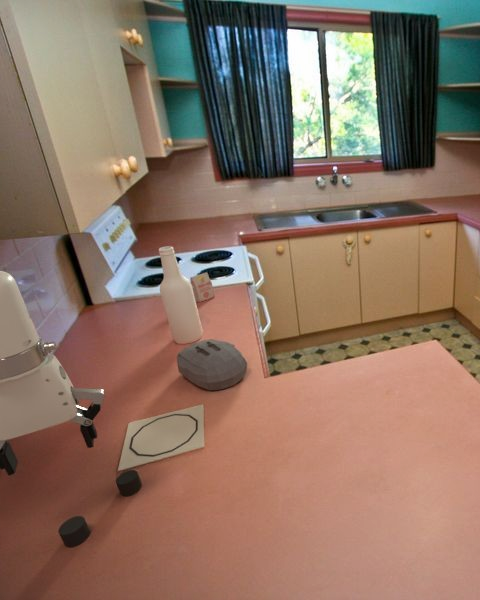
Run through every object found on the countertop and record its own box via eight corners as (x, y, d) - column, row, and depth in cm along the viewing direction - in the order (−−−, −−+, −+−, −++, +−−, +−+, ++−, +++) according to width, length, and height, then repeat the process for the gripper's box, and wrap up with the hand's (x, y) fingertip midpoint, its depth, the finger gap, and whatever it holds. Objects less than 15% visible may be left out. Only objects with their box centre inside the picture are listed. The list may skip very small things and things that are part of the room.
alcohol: (167, 342, 134) (141, 251, 122) (188, 330, 141) (165, 242, 130) (189, 346, 131) (165, 253, 119) (209, 333, 139) (188, 244, 127)
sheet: (118, 471, 85) (117, 470, 85) (129, 423, 98) (128, 422, 98) (204, 447, 91) (204, 445, 90) (203, 405, 104) (203, 403, 104)
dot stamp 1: (61, 551, 69) (55, 538, 68) (67, 532, 72) (61, 520, 71) (87, 542, 71) (81, 529, 69) (92, 525, 74) (86, 512, 72)
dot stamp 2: (118, 499, 79) (114, 487, 77) (121, 485, 82) (117, 473, 80) (140, 492, 80) (136, 480, 79) (143, 478, 83) (138, 467, 82)
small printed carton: (193, 300, 164) (187, 276, 160) (209, 295, 169) (204, 271, 165) (198, 302, 162) (193, 278, 158) (214, 297, 167) (209, 273, 163)
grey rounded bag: (171, 374, 117) (209, 402, 105) (164, 348, 113) (201, 373, 102) (222, 352, 127) (261, 374, 116) (216, 327, 124) (256, 348, 112)
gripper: (86, 332, 66) (118, 421, 73) (-68, 367, 57) (-15, 464, 64) (84, 352, 60) (119, 447, 67) (-87, 395, 51) (-27, 498, 58)
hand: (53, 455), depth 65 cm, fingers open, 9 cm apart
